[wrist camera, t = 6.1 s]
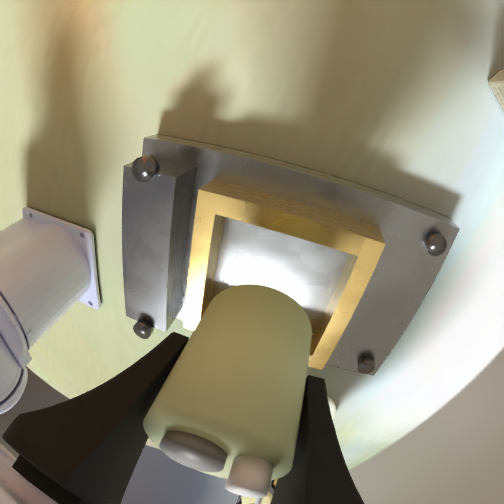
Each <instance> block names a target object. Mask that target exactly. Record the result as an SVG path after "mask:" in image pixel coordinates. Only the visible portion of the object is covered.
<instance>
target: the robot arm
mask: <svg viewBox="0 0 504 504" xmlns="http://www.w3.org/2000/svg"><path fill="white" fill-rule="evenodd" d="M77 301H80V302H82V303H84V304H86V305H88V306H90V307H92V308H94V309H99V308H100V307H101V302H100V294H99V287H98V278H97V269H96V258H95V246H94V235H93V233H92V231H90V230H89V229H86V228H83V227H80V226H77V225H75V224H72V223H69V222H66V221H64V220H61V219H58V218H55V217H53V216H50V215H47V214H45V213H42V212H39V211H37V210H34V209H31V208H29V207H25V208H23V218H22V219H20V220H19V221H17V222H15V223H14V224H12V225H10V226H8V227H7V228H5V229H3V230H2V231H0V414H2V413H4V412H6V411H8V410H9V409H10V408H11V407H13V406H14V405H15V404H16V403H17V401H18V400H19V399H20V397H21V395H22V393H23V391H24V389H25V386H26V382H27V375H28V374H27V369H26V365H27V364H28V363H29V362H30V361H31V360H32V358H31V356H30V354H29V352H28V350H29V349H30V348H31V347H32V346H33V345H34V344H35V343H36V342H37V341H38V340H39V339H40V338H41V337H42V336H43V335H44V334H45V333H46V332H47V331H48V330H49V329H50V328H51V327H52V326H53V325H54V324H55V323H56V322H57V321H58V320H59V319H60V318H61V317H62V316H63V315H64V314H65V313H66V312H67V311H68V310H69V309H70V308H71V307H72V306H73V305H74V304H75V303H76V302H77ZM188 339H189V337H186V336H183V335H181V334H178V333H175V332H173V333H171V334H170V335H169V336H168V337H166V338H165V339H164V340H163V341H162V342H161V343H160V344H158V345H157V346H156V347H155V348H154V349H152V350H151V351H150V352H149V353H147V354H146V355H145V356H144V357H142V358H141V359H140V360H138V361H137V362H136V363H134V364H133V365H131V366H130V367H129V368H127V369H126V370H124V371H123V372H121V373H120V374H118V375H117V376H115V377H113V378H112V379H110V380H108V381H107V382H105V383H103V384H102V385H100V386H98V387H96V388H94V389H92V390H90V391H88V392H86V393H84V394H82V395H79V396H77V397H75V398H72V399H70V400H67V401H65V402H62V403H59V404H56V405H53V406H50V407H47V408H43V409H39V410H35V411H31V412H27V413H22V414H19V415H18V417H17V418H16V419H14V421H13V422H12V423H11V424H10V426H9V427H8V428H7V430H6V431H5V433H4V434H3V436H2V437H3V439H4V440H5V441H6V442H7V443H8V444H9V445H10V446H11V447H12V448H13V449H14V450H15V451H16V452H17V453H19V454H20V455H19V457H18V458H17V459H16V458H15V457H14V456H13V455H12V454H11V453H10V452H9V451H8V450H7V449H6V448H5V447H3V446H2V445H1V444H0V504H120V503H121V501H122V498H123V495H124V493H125V490H126V487H127V485H128V483H129V480H130V477H131V475H132V473H133V470H134V468H135V466H136V464H137V461H138V459H139V457H140V454H141V452H142V450H143V448H144V446H145V444H146V441H147V439H148V435H147V434H146V432H145V430H144V427H143V420H144V418H145V416H146V414H147V413H148V411H149V409H150V407H151V406H152V404H153V402H154V400H155V398H156V397H157V395H158V393H159V391H160V390H161V388H162V386H163V384H164V383H165V381H166V379H167V377H168V375H169V374H170V372H171V370H172V368H173V367H174V365H175V363H176V361H177V360H178V358H179V356H180V354H181V353H182V351H183V349H184V347H185V346H186V344H187V342H188ZM270 504H364V502H363V500H362V498H361V496H360V494H359V492H358V491H357V489H356V487H355V485H354V482H353V480H352V478H351V476H350V473H349V471H348V468H347V466H346V463H345V460H344V457H343V455H342V452H341V448H340V445H339V442H338V439H337V435H336V432H335V428H334V424H333V420H332V416H331V411H330V407H329V402H328V396H327V391H326V384H325V380H324V379H322V378H318V377H314V376H310V375H308V376H307V378H306V385H305V392H304V399H303V405H302V412H301V418H300V424H299V430H298V436H297V442H296V448H295V453H294V459H293V464H292V468H291V470H290V472H289V473H288V474H286V475H285V476H283V477H281V478H278V479H277V483H276V487H275V490H274V493H273V497H272V500H271V503H270Z"/></svg>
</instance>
